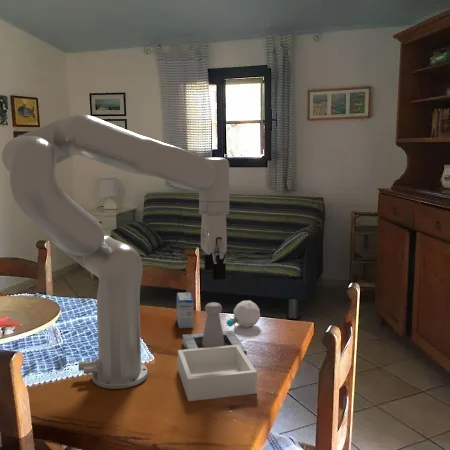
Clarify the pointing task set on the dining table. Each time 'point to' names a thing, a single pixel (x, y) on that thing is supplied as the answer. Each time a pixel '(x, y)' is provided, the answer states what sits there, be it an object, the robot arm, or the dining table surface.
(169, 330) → the dining table surface
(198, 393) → the bin
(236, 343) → the collar block
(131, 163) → the robot arm
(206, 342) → the salt shaker
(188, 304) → the medicine box
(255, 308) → the perfume bottle
